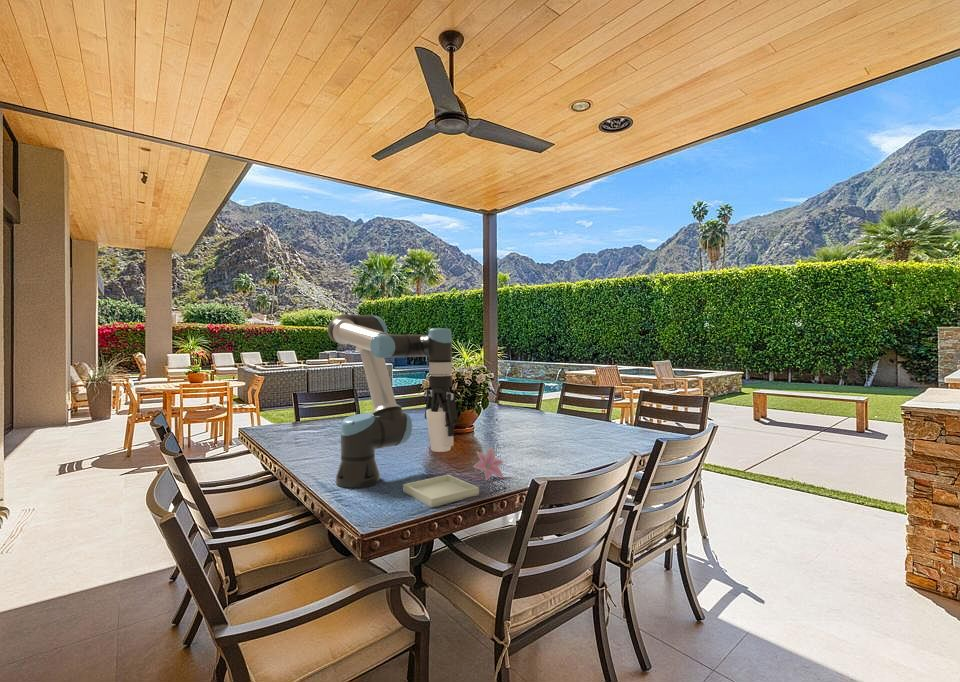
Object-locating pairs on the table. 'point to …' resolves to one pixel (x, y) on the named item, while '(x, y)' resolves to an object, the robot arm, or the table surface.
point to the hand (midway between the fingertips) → (441, 443)
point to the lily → (489, 464)
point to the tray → (440, 490)
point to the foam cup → (437, 430)
